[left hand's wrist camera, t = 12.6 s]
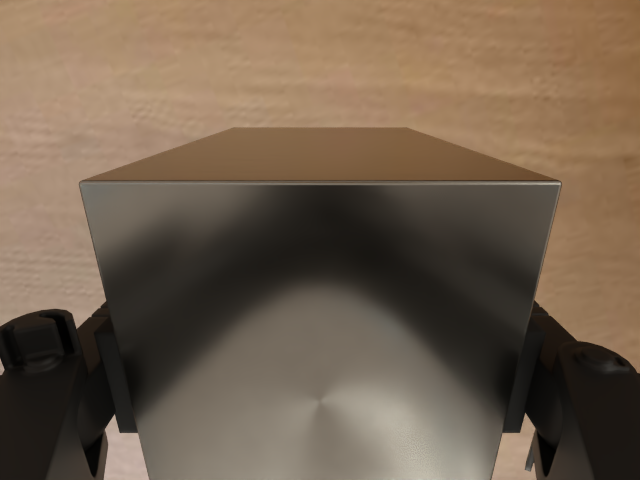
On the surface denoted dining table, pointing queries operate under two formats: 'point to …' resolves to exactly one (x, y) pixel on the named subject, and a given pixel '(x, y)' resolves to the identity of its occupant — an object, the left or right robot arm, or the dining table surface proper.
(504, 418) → the block
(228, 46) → the dining table surface
